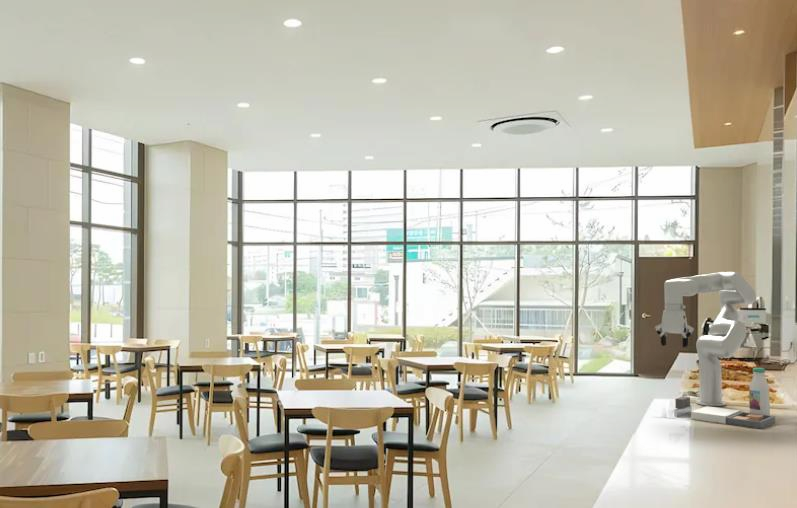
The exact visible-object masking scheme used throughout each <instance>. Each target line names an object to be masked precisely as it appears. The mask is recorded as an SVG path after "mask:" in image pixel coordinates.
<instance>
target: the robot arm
mask: <svg viewBox="0 0 797 508" xmlns="http://www.w3.org/2000/svg"><path fill="white" fill-rule="evenodd" d="M663 286H664V287H663V288H664V292H663V293H664V310H663V312H662V317H661V323H659V324H657V325H655V326H654V329H655V330H656V333H657V334H658V335H659V337H660V344H661V346H666V345H667V334H679V335H680V334H681V335H682V348H688V346H689V338H690V336H691V335H693V332H694V330H695V328H694V327H692V326H691V325H689V324H688V321H687V316H686V311H685V310H684V309H686V307H687V306H686V305H684V303H683V301H684V299H683V297H692V296H693V297H694V296H695V295H697V294H709V293H712V292H718V300H719V305H720V310H719V313H718V315H717V316H716V317H715V319H714V321H712V324H711V325H710V327H709V334H710V335H709V334H708V335H701V336H699V338H698V339H697V340H696V345H695V346H696V352H697V357H698V377H699V378H698V379H699V380H698V381H699V382H698V383H699V385H698V387H699V391H698V392H699V399H696V400H695V403H696V404H697V405H700V406H705V407H706V406H709V407H723V406H726V405H727V403H726V401H724V400H723V398H724V393H723V389H722V388H723V386H722V385H723V384H722V383H723V382H722V364H721V361H720V360H719V358H722V359H728V358H729V359H730V358H732V357H733V356H734V355H736V353H737V352H738V350H739V349H740V346H741V345H742V343H744V340H745V339H746V336H747V326H746V324H745V323H744V322H743V321H741V320H739V318H740V317H739V313H738V310H737V308H736V306H735V305H743V306H744V305H745V306H747V305H748V306H749V305H752V304H753V303H755V301H756V299H757V293H756V290H755V289H754V287H753V286H752V285H751V284H750V282H749V281H748V280H747V279H746V278H745V277H744V276H743V275H741V274H740V273H739V272H736V271H726V272H725V271H718V272H713V273H706V274H701V275H699V274H698V275H693V276H685V277H678V278H672V279H668V280H665V281H664V285H663Z"/></svg>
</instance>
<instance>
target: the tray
mask: <svg viewBox="0 0 797 508" xmlns="http://www.w3.org/2000/svg"><path fill="white" fill-rule="evenodd" d="M749 414H754V413H750V412H744V411H740V413H737V414H735V415H732V416H730V417H727V423H726V424H727V425H731V426H740V427H747V428H754V429H759V430H761V429H764V428H766V427H768V426H771V425H772V424H775V423H776V416H775V415H771V414H770V415H763V416H764V420H762V421H759V422H758V421H751V420H744V419H736V418H733V417H736V416H741V417H746V416H747V415H749ZM756 415H762V414H756Z"/></svg>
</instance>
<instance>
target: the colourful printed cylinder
mask: <svg viewBox="0 0 797 508" xmlns="http://www.w3.org/2000/svg"><path fill="white" fill-rule="evenodd" d="M752 374H753V376H752V378H751V381H750V383H749V387H748V389H749V391H748V392H749V394H748V397H749V399H748V401H749V413H754V414H762V415H770V416H771V413H770V412H771V406H770V405H771V404H770V403H771V402H770V400H771V399H770V387H769V383H768V381H767V379H766V377H765V374H766V370H765V368H764V367H753V368H752Z"/></svg>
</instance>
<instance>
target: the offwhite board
mask: <svg viewBox="0 0 797 508" xmlns="http://www.w3.org/2000/svg"><path fill="white" fill-rule="evenodd" d="M740 412H741V410H739V409H733V408H732V409H730V408H724V407H718V406H706V405H705V406H704V407H701V408H697V409H693V410H692V411H691V412H690V418H691V420H697V421H702V422H703V421H704V422H705V421H706V422H711V423H717V422H718V424H727V417H730V416H732V415H735V414H737V413H740Z"/></svg>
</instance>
